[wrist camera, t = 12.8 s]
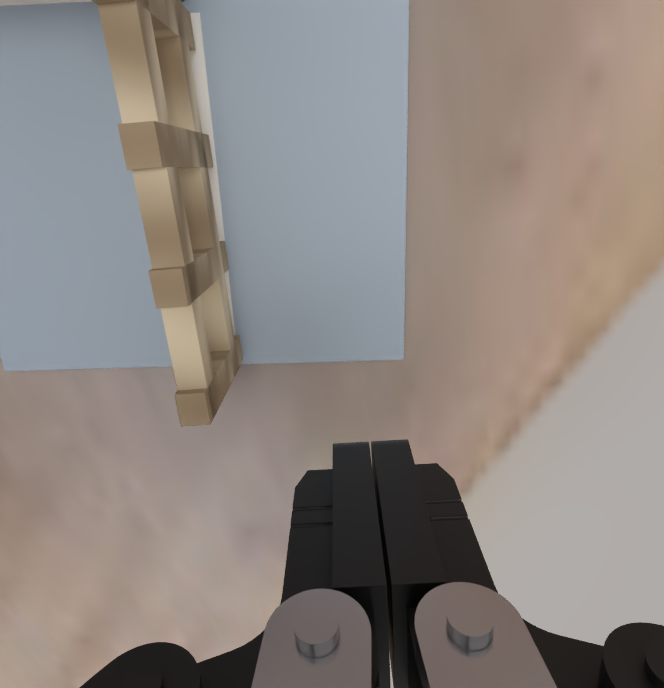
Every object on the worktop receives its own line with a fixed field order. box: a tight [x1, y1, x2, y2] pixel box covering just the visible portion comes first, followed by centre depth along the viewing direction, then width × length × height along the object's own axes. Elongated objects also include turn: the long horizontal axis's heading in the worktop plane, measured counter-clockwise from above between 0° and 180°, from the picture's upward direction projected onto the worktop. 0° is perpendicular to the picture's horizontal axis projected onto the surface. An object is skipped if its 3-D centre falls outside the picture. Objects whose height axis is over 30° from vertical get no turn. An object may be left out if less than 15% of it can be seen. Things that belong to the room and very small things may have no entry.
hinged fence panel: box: [92, 0, 243, 426], centre depth 20 cm, size 16×1×7 cm, turn 5°
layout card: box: [0, 0, 409, 371], centre depth 23 cm, size 22×24×1 cm
